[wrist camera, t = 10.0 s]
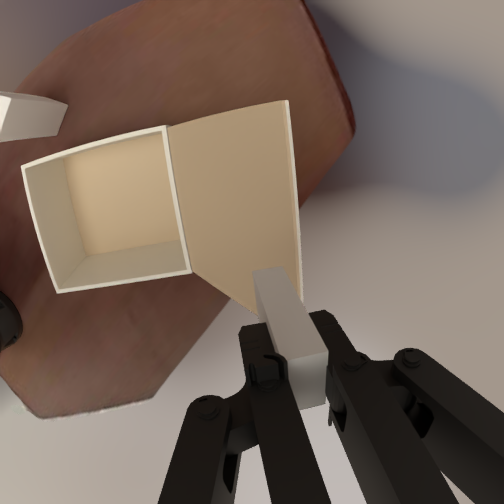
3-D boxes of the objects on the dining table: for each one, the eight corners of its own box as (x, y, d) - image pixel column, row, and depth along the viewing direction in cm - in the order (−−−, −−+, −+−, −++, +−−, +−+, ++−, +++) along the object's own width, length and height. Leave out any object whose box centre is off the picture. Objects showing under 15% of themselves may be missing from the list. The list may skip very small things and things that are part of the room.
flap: (299, 343, 26) (304, 340, 26) (281, 100, 18) (288, 100, 19) (192, 271, 42) (196, 269, 42) (167, 127, 34) (171, 127, 35)
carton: (85, 258, 53) (57, 293, 40) (60, 156, 45) (20, 165, 33) (195, 239, 55) (192, 273, 42) (176, 127, 47) (165, 124, 34)
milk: (69, 104, 42) (-2, 96, 22) (57, 136, 44) (-16, 145, 24) (44, 96, 41) (-29, 87, 20) (33, 127, 42) (-43, 134, 22)
